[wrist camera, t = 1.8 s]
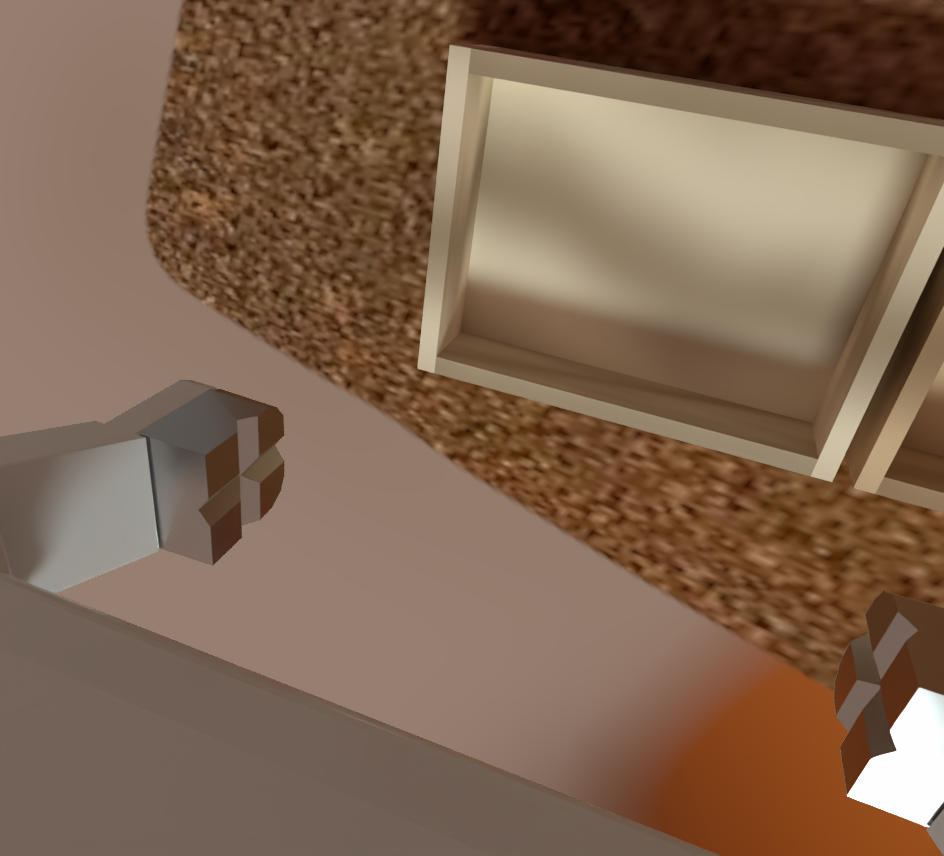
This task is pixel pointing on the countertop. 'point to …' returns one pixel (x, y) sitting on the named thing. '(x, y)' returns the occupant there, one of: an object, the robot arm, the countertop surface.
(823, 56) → the countertop surface
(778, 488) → the countertop surface
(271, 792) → the robot arm
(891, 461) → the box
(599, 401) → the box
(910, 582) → the countertop surface
